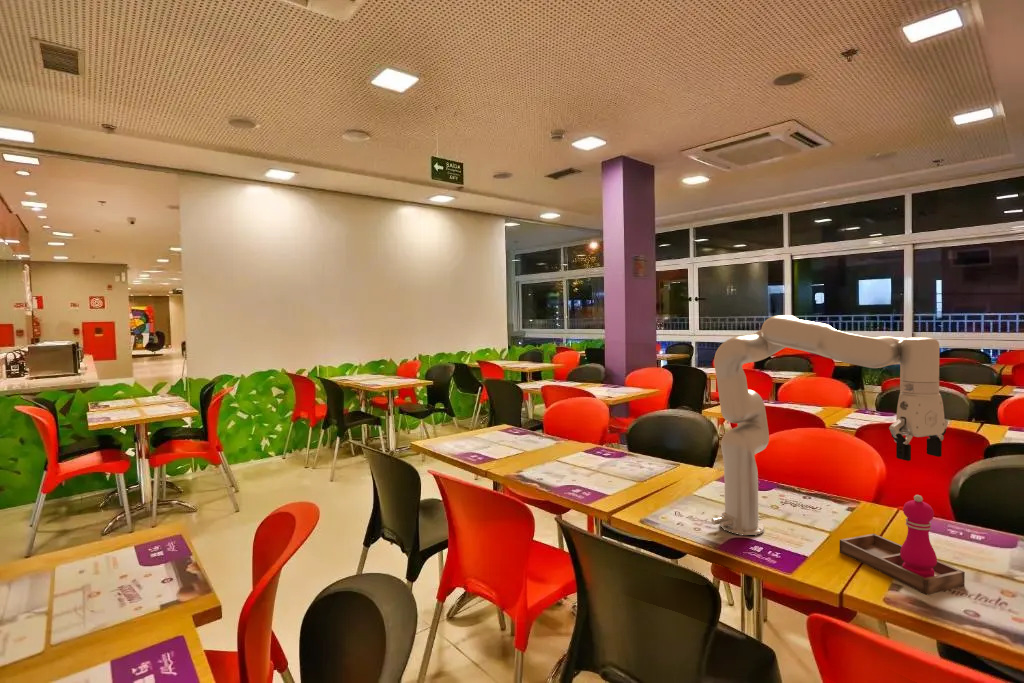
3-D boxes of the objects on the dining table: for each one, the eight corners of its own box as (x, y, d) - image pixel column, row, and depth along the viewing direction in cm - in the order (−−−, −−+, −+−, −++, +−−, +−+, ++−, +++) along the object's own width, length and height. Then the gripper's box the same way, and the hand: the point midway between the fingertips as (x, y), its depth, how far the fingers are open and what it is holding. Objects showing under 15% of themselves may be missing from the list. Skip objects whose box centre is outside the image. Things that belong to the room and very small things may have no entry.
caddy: (926, 594, 122) (926, 580, 122) (839, 552, 145) (839, 539, 145) (964, 586, 125) (964, 571, 125) (873, 545, 148) (873, 533, 148)
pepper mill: (944, 581, 126) (945, 499, 125) (914, 582, 126) (914, 500, 125) (921, 567, 133) (922, 489, 132) (893, 567, 133) (893, 490, 132)
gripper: (907, 392, 122) (906, 465, 122) (962, 387, 126) (961, 457, 127) (877, 388, 129) (876, 457, 130) (930, 384, 133) (930, 450, 134)
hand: (918, 457), depth 128 cm, fingers open, 9 cm apart
